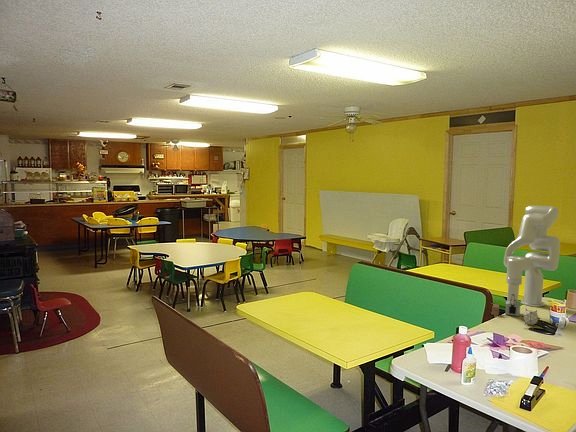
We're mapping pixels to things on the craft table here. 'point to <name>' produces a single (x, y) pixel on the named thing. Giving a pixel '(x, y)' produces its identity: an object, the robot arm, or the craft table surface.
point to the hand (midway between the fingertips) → (512, 311)
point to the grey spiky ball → (530, 317)
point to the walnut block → (495, 310)
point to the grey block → (515, 306)
